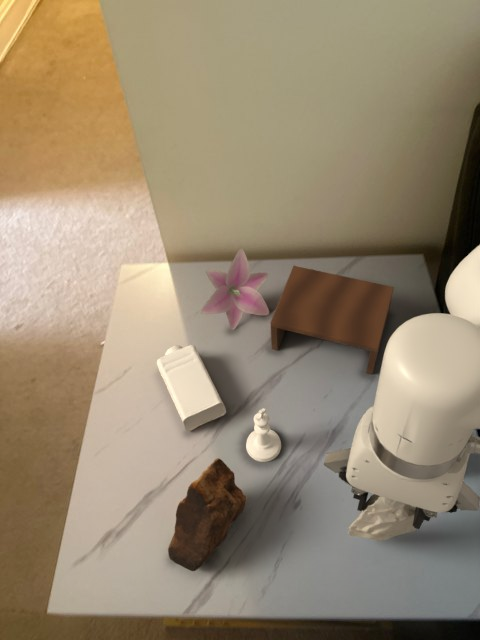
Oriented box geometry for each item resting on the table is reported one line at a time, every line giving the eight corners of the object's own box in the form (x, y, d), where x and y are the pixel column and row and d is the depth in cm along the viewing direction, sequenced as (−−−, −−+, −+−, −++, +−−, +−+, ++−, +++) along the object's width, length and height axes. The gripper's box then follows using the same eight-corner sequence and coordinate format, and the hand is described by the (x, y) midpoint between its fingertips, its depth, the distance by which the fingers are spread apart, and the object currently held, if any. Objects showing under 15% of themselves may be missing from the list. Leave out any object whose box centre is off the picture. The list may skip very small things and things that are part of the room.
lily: (193, 334, 93) (206, 319, 84) (191, 267, 96) (203, 246, 87) (261, 335, 97) (281, 321, 88) (257, 270, 100) (276, 250, 91)
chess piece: (287, 439, 80) (287, 404, 72) (270, 468, 77) (268, 435, 69) (257, 423, 81) (253, 388, 73) (239, 451, 79) (234, 418, 71)
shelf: (387, 314, 92) (394, 286, 86) (372, 374, 85) (378, 348, 79) (293, 293, 96) (293, 265, 90) (271, 349, 89) (270, 322, 84)
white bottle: (194, 350, 90) (190, 334, 87) (226, 414, 83) (224, 400, 79) (156, 366, 89) (151, 351, 85) (186, 433, 81) (181, 419, 78)
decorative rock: (220, 479, 77) (212, 445, 68) (256, 505, 74) (252, 473, 66) (162, 554, 71) (145, 527, 63) (199, 584, 69) (186, 561, 60)
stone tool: (349, 550, 68) (360, 510, 56) (344, 524, 70) (353, 480, 58) (420, 542, 68) (446, 500, 56) (413, 516, 70) (436, 470, 57)
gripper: (530, 420, 46) (477, 497, 61) (326, 369, 51) (322, 453, 65) (524, 506, 42) (468, 568, 57) (303, 443, 47) (304, 514, 61)
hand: (390, 505), depth 61 cm, fingers closed on stone tool, 5 cm apart
